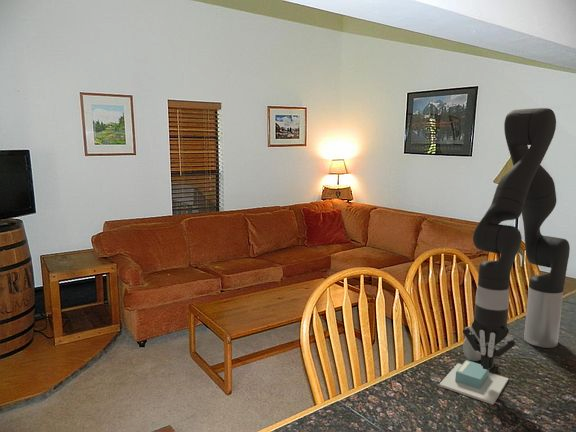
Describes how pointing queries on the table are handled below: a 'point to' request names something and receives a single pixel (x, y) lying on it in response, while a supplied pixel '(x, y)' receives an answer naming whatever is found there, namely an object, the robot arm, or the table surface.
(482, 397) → the mat
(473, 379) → the box
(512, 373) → the table surface
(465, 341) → the donut
